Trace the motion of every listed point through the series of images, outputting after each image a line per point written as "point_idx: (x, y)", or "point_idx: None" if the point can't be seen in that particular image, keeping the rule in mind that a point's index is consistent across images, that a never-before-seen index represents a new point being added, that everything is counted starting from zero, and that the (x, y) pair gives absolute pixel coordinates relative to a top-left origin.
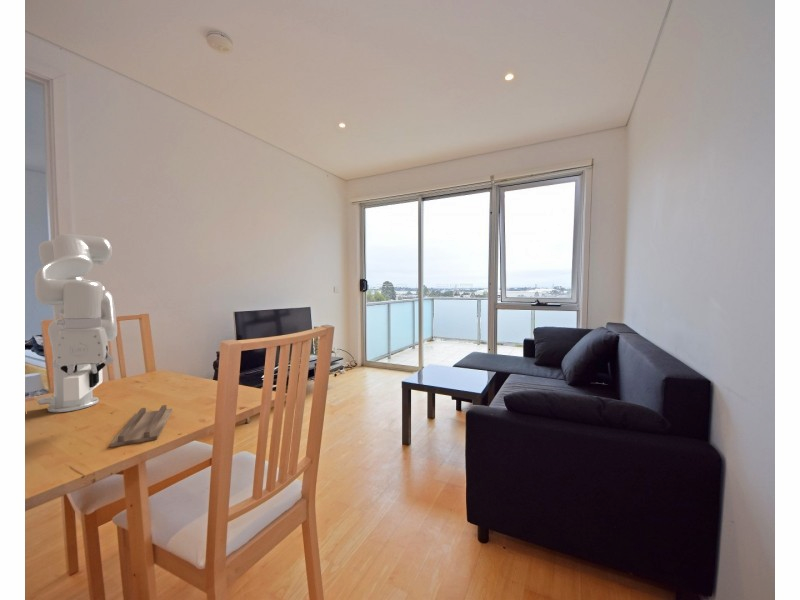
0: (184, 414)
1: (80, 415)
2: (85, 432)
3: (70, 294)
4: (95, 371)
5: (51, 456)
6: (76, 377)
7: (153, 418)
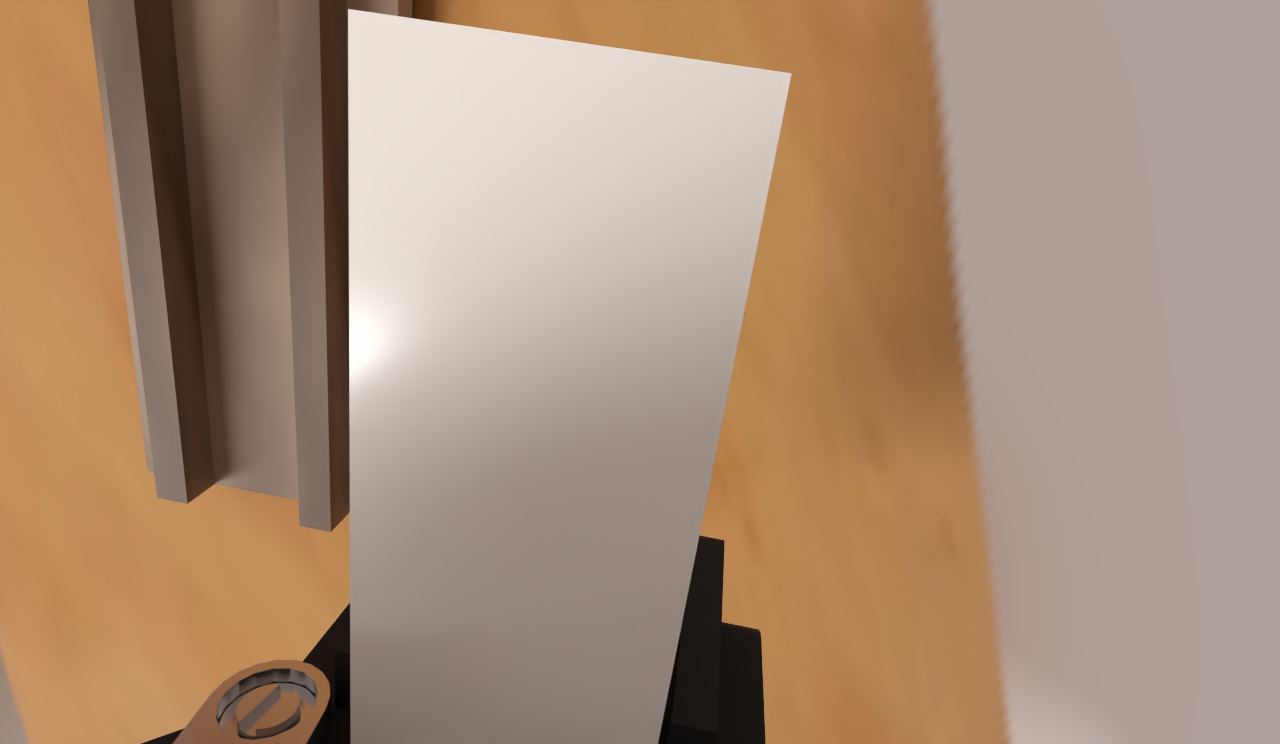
0: (64, 344)
1: None
2: None
3: None
4: (248, 699)
5: None
6: (414, 34)
7: (223, 311)
